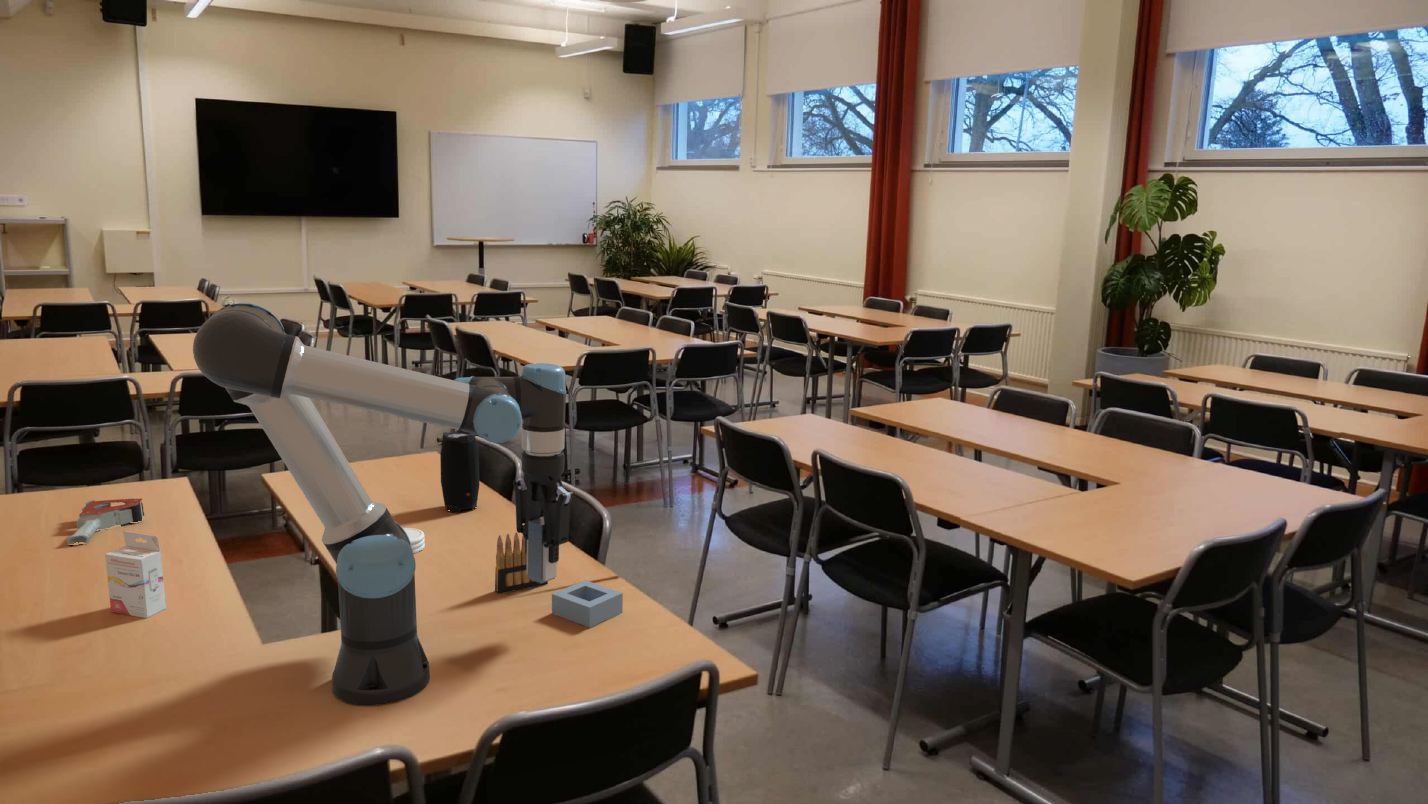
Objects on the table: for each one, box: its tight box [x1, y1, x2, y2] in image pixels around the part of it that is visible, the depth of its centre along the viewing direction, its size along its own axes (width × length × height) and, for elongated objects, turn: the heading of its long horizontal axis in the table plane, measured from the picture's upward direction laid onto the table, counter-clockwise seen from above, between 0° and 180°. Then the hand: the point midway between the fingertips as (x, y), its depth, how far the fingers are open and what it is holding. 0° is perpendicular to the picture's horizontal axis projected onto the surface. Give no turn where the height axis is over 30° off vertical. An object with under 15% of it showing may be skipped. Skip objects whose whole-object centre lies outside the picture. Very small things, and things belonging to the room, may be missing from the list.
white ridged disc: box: [402, 527, 426, 555], centre depth 224 cm, size 10×10×4 cm
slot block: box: [551, 579, 624, 629], centre depth 192 cm, size 9×10×4 cm
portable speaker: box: [439, 430, 480, 513], centre depth 251 cm, size 9×9×20 cm
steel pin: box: [528, 516, 556, 583], centre depth 182 cm, size 4×4×11 cm
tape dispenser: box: [66, 498, 145, 545], centre depth 232 cm, size 18×5×20 cm
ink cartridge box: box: [104, 530, 167, 619], centre depth 187 cm, size 9×5×15 cm, turn 74°
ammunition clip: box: [494, 531, 549, 594], centre depth 203 cm, size 11×2×12 cm, turn 122°
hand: (541, 574), depth 183 cm, fingers closed on steel pin, 3 cm apart
